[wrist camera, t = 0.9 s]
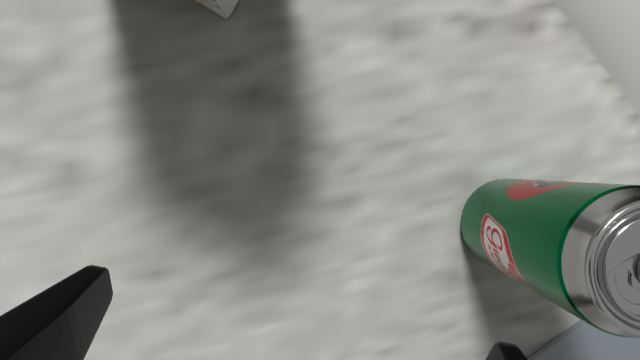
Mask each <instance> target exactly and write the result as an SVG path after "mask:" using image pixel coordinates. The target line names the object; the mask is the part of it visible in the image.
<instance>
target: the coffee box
mask: <svg viewBox="0 0 640 360" xmlns="http://www.w3.org/2000/svg"><path fill="white" fill-rule="evenodd" d="M195 1H196V2H198V3H200V4H201V5H203V6H205V7H206V8H208V9H210V10H211V11H213V12H215V13H216V14H218V15H220V16H221V17H223V18H225V19H227V18H228V17H229V16H230V15H231V13H232V12H233V10H234V8H235V6H236V5H237V3H238V1H239V0H195Z"/></svg>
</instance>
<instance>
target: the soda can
mask: <svg viewBox="0 0 640 360" xmlns="http://www.w3.org/2000/svg"><path fill="white" fill-rule="evenodd" d="M461 230H462V234H463V238H464V240H465V242H466V245H467V246H468V248H469V249H470V251H471V252H472V253H473V254H474V255H475V256H476V257H478V258H479V259H480V260H482V261H483V262H485V263H487V264H489V265H490V266H492V267H494V268H495V269H497V270H499V271H500V272H502V273H504V274H505V275H507V276H509V277H510V278H512V279H514V280H516V281H517V282H519V283H521V284H522V285H524V286H526V287H527V288H529V289H531V290H532V291H534V292H536V293H537V294H539V295H541V296H542V297H544V298H546V299H548V300H549V301H551V302H553V303H554V304H556V305H558V306H559V307H561V308H563V309H564V310H566V311H568V312H569V313H571V314H573V315H575V316H576V317H578V318H580V319H581V320H583V321H585V322H586V323H588V324H590V325H591V326H593V327H595V328H597V329H599V330H601V331H603V332H606V333H609V334H611V335H615V336H620V337H628V338H640V185H623V184H603V183H582V182H562V181H542V180H522V179H498V180H494V181H491V182H488V183H486V184H484V185H482V186H481V187H479V188H478V189H477V190H476V191H475V192H474V193H472V195H471V196H470V197H469V199H468V200H467V202H466V204H465V206H464V209H463V212H462V217H461Z"/></svg>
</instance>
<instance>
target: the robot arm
mask: <svg viewBox="0 0 640 360" xmlns="http://www.w3.org/2000/svg"><path fill="white" fill-rule="evenodd" d="M112 296H113V291H112V285H111V279H110V274H109V270H108V269H107V268H105V267H100V266H94V265H89V266H86V267H84V268H83V269H81V270H79V271H77V272H76V273H74V274H72V275H70V276H69V277H67V278H65V279H64V280H62V281H60V282H58V283H57V284H55V285H53V286H51V287H50V288H48V289H46V290H44V291H43V292H41V293H39V294H38V295H36V296H34V297H32V298H31V299H29V300H27V301H25V302H24V303H22V304H20V305H19V306H17V307H15V308H13V309H12V310H10V311H8V312H6V313H5V314H3V315H1V316H0V360H83V359H84V357H85V355H86V353H87V351H88V349H89V347H90V345H91V343H92V341H93V339H94V336H95V334H96V332H97V330H98V328H99V326H100V324H101V322H102V320H103V317H104V315H105V313H106V311H107V309H108V307H109V305H110V303H111V300H112ZM486 360H528V359H527V358H526V356H525V355H524V354H523V353H522V351H521V350H520V349H519V348H518V347H517V346H516V345H514V344H510V343H504V342H497V343H495V345H494V346H493V348H492V349H491V351H490V353H489V355H488V356H487V358H486Z"/></svg>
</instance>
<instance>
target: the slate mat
mask: <svg viewBox="0 0 640 360" xmlns="http://www.w3.org/2000/svg"><path fill="white" fill-rule="evenodd" d="M527 359H528V360H640V338H628V337H620V336H615V335H611V334H609V333H606V332H603V331H601V330H599V329H597V328H595V327H593V326H591V325H590V324H588V323H586V322H585V321H583V320H581V321H579V322H578V323H576V324H575V325H574V326H572V327H571V328H569V329H568V330H567V331H565V332H564V333H562V334H561V335H560V336H558V337H557V338H555V339H554V340H553V341H551V342H550V343H548V344H547V345H546V346H544V347H543V348H541V349H540V350H539V351H537V352H536V353H534V354H533V355H532V356H530V357H529V358H527Z"/></svg>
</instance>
